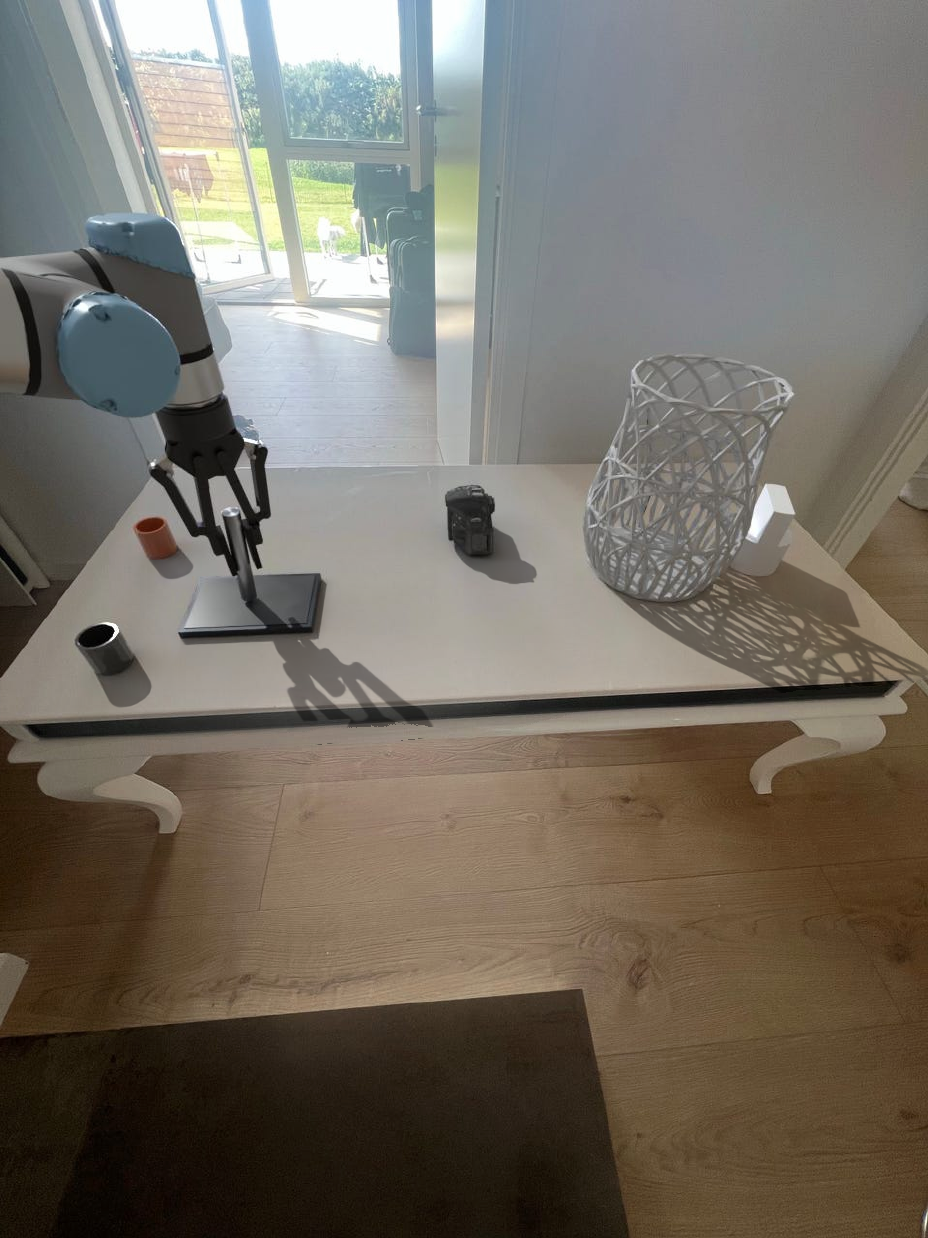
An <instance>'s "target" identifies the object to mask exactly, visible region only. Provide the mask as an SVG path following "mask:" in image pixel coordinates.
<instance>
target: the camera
mask: <svg viewBox="0 0 928 1238" xmlns="http://www.w3.org/2000/svg"><path fill="white" fill-rule="evenodd" d="M444 505H445V507H446V519H447V521H446V523H447V537H448V541H449V542H453V544H454V545H457V546H459V547H461V549H462V551H463V553H464V554H466V555H468V556H490V555H492V554H493V552H494V528H493V518H492V515H493V514H494V513H495V512H496V502H495V497H493V496H492V495H489V493H487V492H486V491H485V489H484V488H483V487H482V486H481V485H479V484H467V485H459V486H458V487H457V486H456V487H454V488H451V489H450V490H447V492H446V493H445V494H444Z"/></svg>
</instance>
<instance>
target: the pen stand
mask: <svg viewBox="0 0 928 1238" xmlns="http://www.w3.org/2000/svg"><path fill="white" fill-rule="evenodd" d="M74 646H75V647H76V648H77V650H78V651H79V652H80V654H81V655H82V657H83V658H84V660H85V661H86V662H87V663H88V665H89V667H90V668H91V669H92V670H93V672H94V673H95V674H97V675H99V676H102V677H106V676H114V675H118V674H119V673H121V672H124V671H125V670H126V669H128V668H129V667H130V666H131V664H132V663H133V661H134V659H135V655H134V652H133V650H132V648H131V647H130V644H129V643H128V641H127V640H126V638H125V637H124V635H123V633H122V632H121V630H120V628H119V627H118V626H117V625H116V624H115V623H113V622H108V621H106V622H98V623H93V624H91V625H89V626H87V627H85V628H83V629H82V630H81V631H80V632H79V633H77V635H76V637H75V638H74Z"/></svg>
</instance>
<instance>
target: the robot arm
mask: <svg viewBox="0 0 928 1238" xmlns="http://www.w3.org/2000/svg"><path fill="white" fill-rule="evenodd" d="M84 222H85V223H84V229H85V232H86V235H87V240H86V241H87V244H88V246H86V247H81V248H79V249H75V250H71V251H62V252H51V253H42V254H31V255H30V254H29V255H18V256H8V257H7V256H5V257H0V394H2V395H16V396H29V397H37V398H45V399H47V398H48V399H58V400H60V399H61V400H71V401H72V400H73V401H82V402H83V403H85V404H86V405H88V406H89V407H92V408H93V409H96V410H100V411H102V412H104V413H108V414H111V415H113V416H117V417H123V418H132V419H134V418H143V417H148V416H150V415H153V414H155V416H156V418H157V421H158V424H159V426H160V429H161V431H162V434H163V437H164V439H165V445H164V454H162V455H161V456H160V457H158V458H157V459H153V458H152V459H149V460H147V462H146V466H147V469H148V472H149V475H150V477H151V478H153V479H154V480H155V481H156V482H157V483H158V484H159V485H160V486H162V487H163V489H164V491H165V492H166V494H167V496H168V497H169V500H170V501H171V503H172V505H173V506H174V508H175V510H176V512H177V513H178V515H179V517H180V519H181V520H182V522H183V524H184V526H185V528H186V529H187V531H188V533H189V535H190V536H191V537H192V538H198V537H200V536H202V537H203V536H204V537H206V538H207V539H208V542H209V545H210V547H211V550H212V552H213V555H215V556H216V557H219V556H224V559H225V562H226V565H227V568H228V570H229V572H230V574H231V576H232V577H233V576H236V575H238V573H237V570H236V568H235V565H234V562H233V559H232V556H231V552H230V548H229V543H228V540H227V537H226V536H225V533H224V531H223V529H222V527H221V525H220V524H219V525H217V523H216V519H215V512H214V508H213V502H212V495H211V490H210V482H209V480H211V479H213V478H215V477H225V478H226V480H227V482H228V484H229V486H230V489H231V491H232V492H233V495H234V497H235V498H236V501H237V503H238V505H239V507H240V509H241V512H242V513H243V515H244V517H245V518H243V519H242V523H243V528H244V533H245V538H246V543H247V548H248V552H249V555H250V557H251V560H252V562H253V564H254V566H255V568H256V570H260V569H263V568H264V567H263V564H262V561H261V558H260V554H259V551H258V547H257V546H259V545H262V544H263V543H264V538H263V535H262V531H261V528H260V527H261V523H260V522H261V521H263V520H269V519H270V518H271V517H272V510H271V503H270V496H269V488H268V480H267V474H266V462H267V458H268V454H269V449H268V447H267V446H266V444H265V443H264V442H263V439H261V438H259V437H257V438H254V439H248V438H245V437H243V435H242V434H241V432H240V431H238V428H237V426H236V422H235V419H234V415H233V412H232V408H231V405H230V402H229V397H228V395H227V394H226V393H225V392H224V390H225V383H224V380H223V376H222V372H221V370H220V369H221V368H220V365H219V363H218V359H217V355H216V351H215V348H214V346H213V342H212V339H211V335H210V332H209V328H208V324H207V321H206V317H205V312H204V309H203V306H202V305H203V304H202V301H201V298H200V293H199V290H198V286H197V283H196V279H197V278H196V274H195V272H194V270H193V266H192V263H191V261H190V258H189V254H188V252H187V249H186V245H185V244H184V241H183V238H182V236H181V232H180V231H179V228H178V227H177V226H176V224H175V223H174V222H172V220H170V219H169V218H168V217H165V216H162V215H159V214H156V213H155V214H154V213H145V212H115V213H114V212H113V213H105V214H102V215H93V216H91V217H88V218H87V219H86V221H84ZM243 451H245V454H246V457H247V459H249V465H250V472H251V478H252V484H253V491H254V497H255V498H254V499H255V505H256V506H255V507H252V504H251V502H250V500H249V498H248V496H247V494H246V492H245V489H244V486H243V485H242V483H241V481H240V478H239V477H238V474H237V472H236V470H235V469H236V466H237V464H238V462H239V460H240V459H241V456H242V453H243ZM173 464H174V465H175V466H177V467H178V468H180V469H181V470H183V471H184V472H186V473H187V474H189V475H190V476H192V477H193V478H192V479H193V482H194V487H195V491H196V496H197V501H198V506H199V511H200V516H201V521H198V520H197V519H196V518H195V516H194V514H193V512H192V510H191V509H190V507H189V505H188V503H187V501H186V499H185V498H184V495H183V494H182V491H181V490H180V488H179V486H178V485H177V482H176V481H175V478H174V477H173V476H174V475H175V471H174V469H173Z"/></svg>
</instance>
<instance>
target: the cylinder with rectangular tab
mask: <svg viewBox="0 0 928 1238" xmlns="http://www.w3.org/2000/svg"><path fill="white" fill-rule="evenodd" d="M795 516H796V512H795V509H794V506H793V504H792V501H791V498H790V496H789V492H788V490H787V488H786V486H784V485H780V484H775V483H765V484H764V486H763V488H762V491H761V492H760V495H759V496H758V498H757V500H756V502H755V507H754V512H753V517H752V522H751V527H750V529H749V531H748V534H747V537H746V538H745V540H744V542H743V544H742V546H741V548H740V550H739V552H738V553H737V555H736V557H735V559H734V560H733V561H732V562H731V564H730V565H729V566H728V567H730V568H731V569H733V570H735V571H736V572H737V573H741V574H744V575H747V576H751V577H768V576H770V575H772V574H774V573H775V572H776V570H777V569H778V567H779V565H780V564H781V562H782V560H783V558H784V557H785V555H786V553H787V551H788V549H789V547H790V546H791V544H792V542H793V540H794V535H793V533H792V532H791V530H790V529H789V527H790V525H791V523H792V521H793V519H794V518H795ZM732 550H733V549H732Z"/></svg>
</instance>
